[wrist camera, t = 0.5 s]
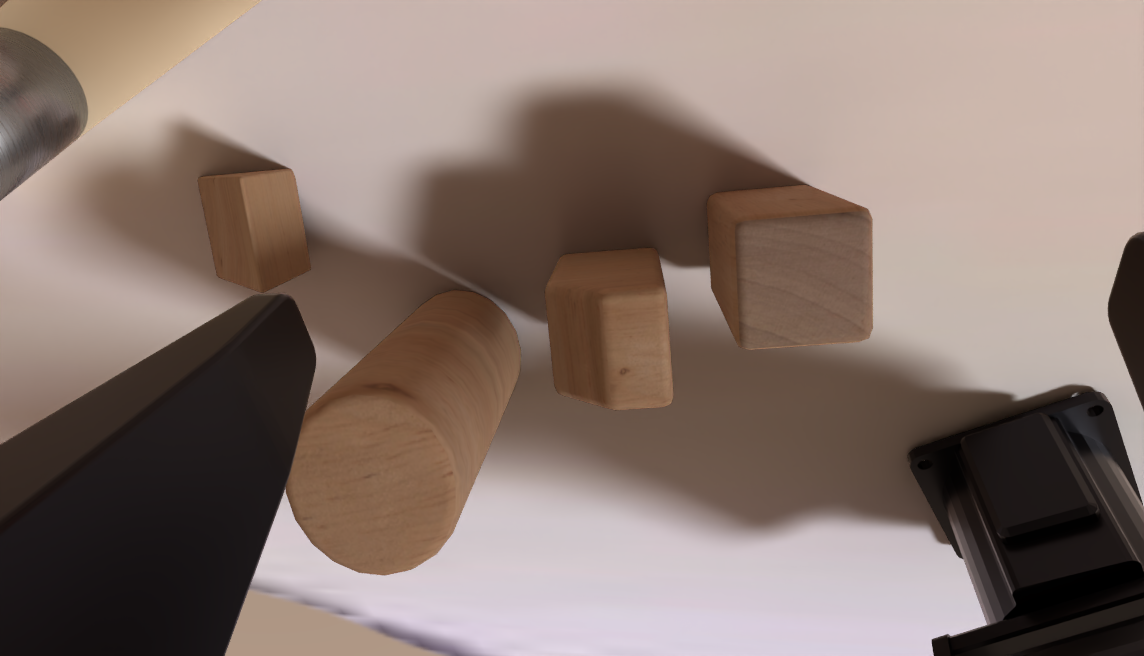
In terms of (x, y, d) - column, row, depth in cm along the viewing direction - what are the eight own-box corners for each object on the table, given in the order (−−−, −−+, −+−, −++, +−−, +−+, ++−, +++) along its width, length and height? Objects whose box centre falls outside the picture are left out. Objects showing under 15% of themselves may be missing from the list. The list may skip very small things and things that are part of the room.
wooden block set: (801, 118, 25) (917, 120, 15) (807, 391, 27) (912, 556, 17) (226, 172, 26) (-21, 208, 16) (275, 426, 28) (84, 595, 18)
